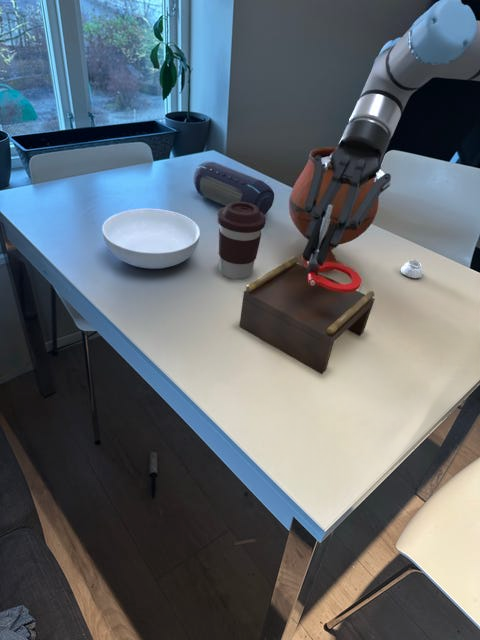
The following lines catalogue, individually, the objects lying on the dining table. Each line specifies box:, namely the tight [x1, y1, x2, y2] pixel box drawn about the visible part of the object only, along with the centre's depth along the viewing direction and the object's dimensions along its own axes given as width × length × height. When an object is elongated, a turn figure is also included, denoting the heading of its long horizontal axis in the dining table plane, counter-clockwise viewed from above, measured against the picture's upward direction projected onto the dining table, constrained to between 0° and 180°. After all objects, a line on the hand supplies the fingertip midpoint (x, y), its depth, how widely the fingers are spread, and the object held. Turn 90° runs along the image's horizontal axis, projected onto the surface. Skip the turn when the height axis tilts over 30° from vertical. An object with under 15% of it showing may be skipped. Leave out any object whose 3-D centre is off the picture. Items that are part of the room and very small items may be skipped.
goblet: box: [288, 146, 380, 273], centre depth 99 cm, size 19×19×25 cm
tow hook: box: [306, 204, 363, 292], centre depth 72 cm, size 8×13×9 cm
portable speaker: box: [193, 161, 275, 215], centre depth 125 cm, size 25×10×10 cm, turn 50°
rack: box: [239, 256, 376, 375], centre depth 82 cm, size 18×16×10 cm
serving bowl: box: [101, 208, 201, 269], centre depth 99 cm, size 21×21×7 cm
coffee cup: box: [216, 202, 267, 280], centre depth 95 cm, size 10×10×15 cm
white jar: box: [400, 259, 424, 279], centre depth 106 cm, size 5×3×5 cm
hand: (312, 260), depth 72 cm, fingers closed on tow hook, 2 cm apart
